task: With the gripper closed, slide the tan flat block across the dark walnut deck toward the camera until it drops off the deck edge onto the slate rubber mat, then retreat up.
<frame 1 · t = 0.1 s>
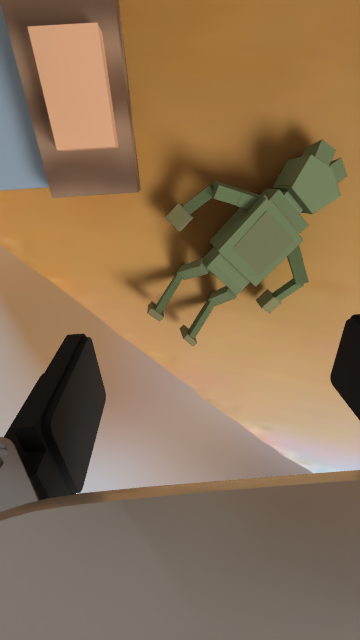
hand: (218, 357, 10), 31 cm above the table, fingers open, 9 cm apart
tan flat block: (81, 96, 27), point 4 cm above the table, touching deck
deck: (86, 104, 31), on the table
toy: (236, 244, 40), on the table
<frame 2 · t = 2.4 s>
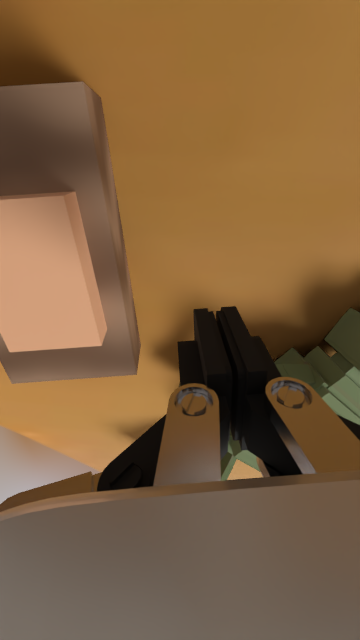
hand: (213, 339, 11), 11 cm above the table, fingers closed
tan flat block: (45, 272, 17), point 4 cm above the table, touching deck
deck: (59, 254, 20), on the table
toy: (268, 391, 30), on the table
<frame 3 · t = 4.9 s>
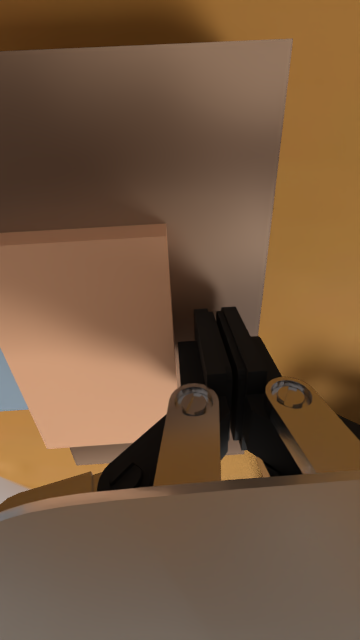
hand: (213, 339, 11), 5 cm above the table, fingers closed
tan flat block: (104, 336, 12), point 4 cm above the table, touching gripper
deck: (149, 294, 15), on the table
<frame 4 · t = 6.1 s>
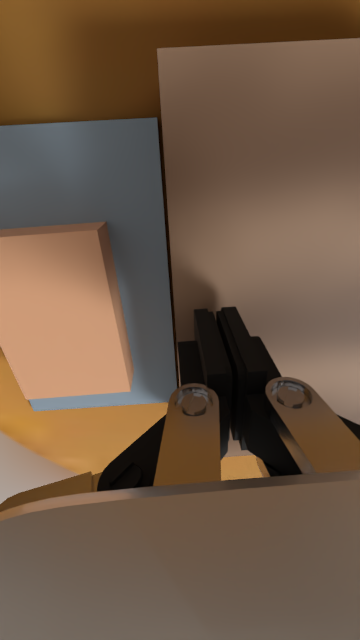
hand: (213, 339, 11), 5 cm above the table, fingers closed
tan flat block: (55, 328, 13), point 2 cm above the table, tilted 180°, touching mat
deck: (262, 289, 15), on the table
mat: (80, 300, 15), on the table
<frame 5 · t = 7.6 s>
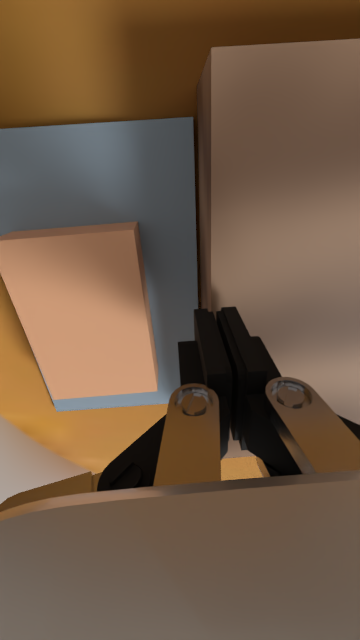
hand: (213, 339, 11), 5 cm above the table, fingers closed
tan flat block: (86, 329, 13), point 2 cm above the table, tilted 180°, touching mat
deck: (289, 287, 15), on the table
mat: (108, 300, 15), on the table
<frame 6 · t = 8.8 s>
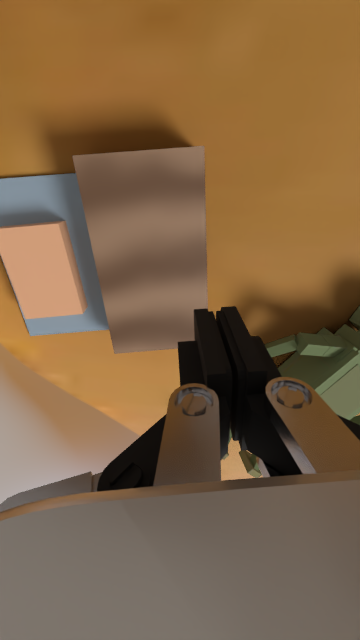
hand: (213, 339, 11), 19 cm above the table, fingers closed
tan flat block: (40, 275, 26), point 2 cm above the table, tilted 180°, touching mat
deck: (153, 256, 28), on the table
mat: (55, 263, 28), on the table
toy: (303, 367, 36), on the table
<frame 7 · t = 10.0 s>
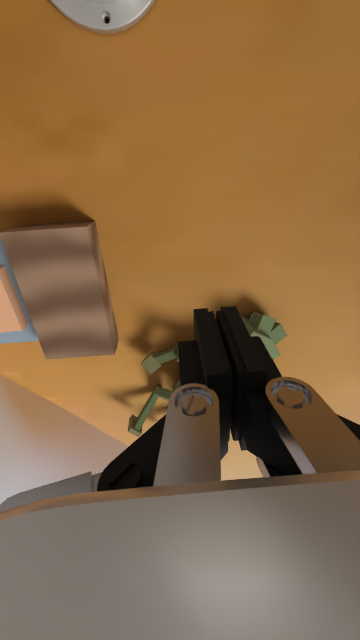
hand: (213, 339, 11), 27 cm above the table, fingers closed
deck: (73, 289, 38), on the table
mat: (1, 294, 38), on the table
toy: (203, 368, 47), on the table
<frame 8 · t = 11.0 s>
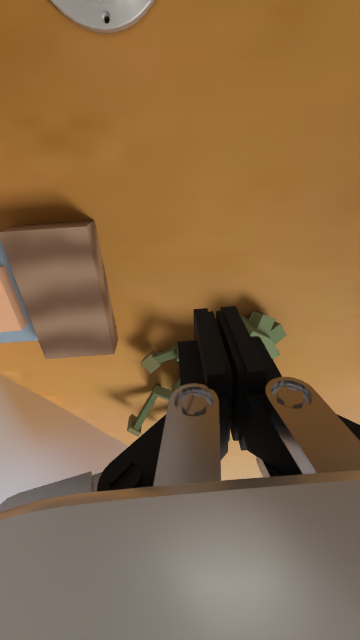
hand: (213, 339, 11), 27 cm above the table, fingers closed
deck: (72, 288, 38), on the table
mat: (0, 293, 38), on the table
toy: (202, 368, 47), on the table
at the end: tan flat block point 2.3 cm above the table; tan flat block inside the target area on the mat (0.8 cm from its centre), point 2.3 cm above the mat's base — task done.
